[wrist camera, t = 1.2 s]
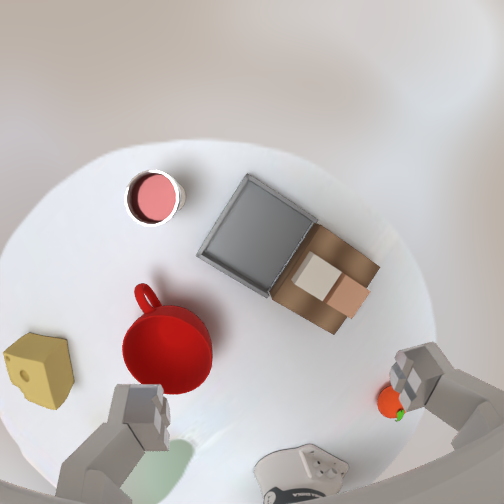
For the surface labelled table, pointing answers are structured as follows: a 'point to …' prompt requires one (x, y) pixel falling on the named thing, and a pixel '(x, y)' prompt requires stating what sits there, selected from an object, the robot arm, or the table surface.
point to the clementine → (390, 404)
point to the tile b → (346, 295)
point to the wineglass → (154, 197)
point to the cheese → (40, 369)
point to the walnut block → (334, 254)
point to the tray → (255, 235)
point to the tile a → (316, 276)
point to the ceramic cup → (167, 346)
